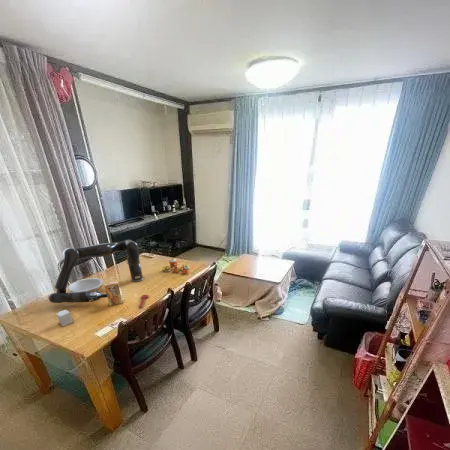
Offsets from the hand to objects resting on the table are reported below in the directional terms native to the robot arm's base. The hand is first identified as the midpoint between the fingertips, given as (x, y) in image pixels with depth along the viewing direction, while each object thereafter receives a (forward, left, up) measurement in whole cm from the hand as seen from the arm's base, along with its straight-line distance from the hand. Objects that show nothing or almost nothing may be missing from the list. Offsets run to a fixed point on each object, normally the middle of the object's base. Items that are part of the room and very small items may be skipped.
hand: (107, 295), depth 177 cm
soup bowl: (-20, -22, -7) cm, 31 cm away
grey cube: (+22, -19, -7) cm, 30 cm away
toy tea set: (-56, +44, -7) cm, 71 cm away
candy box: (0, +5, -7) cm, 8 cm away
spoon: (-1, +24, -7) cm, 25 cm away
